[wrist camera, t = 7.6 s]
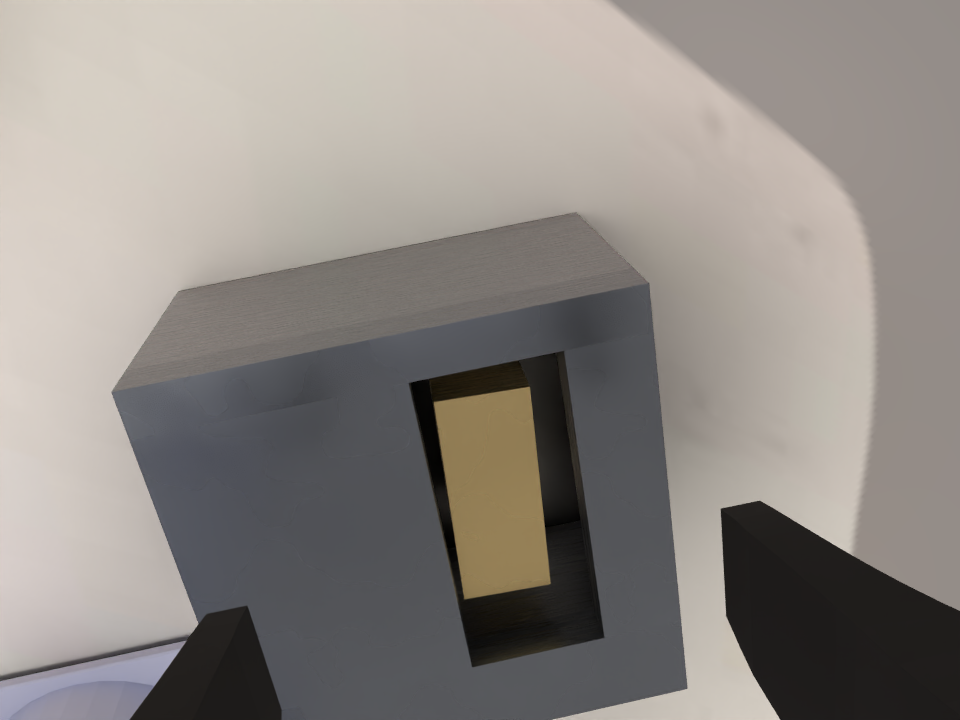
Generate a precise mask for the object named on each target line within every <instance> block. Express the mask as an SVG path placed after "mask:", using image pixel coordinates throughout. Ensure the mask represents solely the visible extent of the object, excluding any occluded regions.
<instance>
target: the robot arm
mask: <svg viewBox="0 0 960 720" xmlns="http://www.w3.org/2000/svg"><path fill="white" fill-rule="evenodd" d="M721 523H722V542H723V561H724V581H725V600H726V616H727V619H728V621H729V623H730V625H731V628H732V630H733V632H734V634H735V637H736V639H737V641H738V643H739V646H740V648H741V650H742V652H743V654H744V656H745V659H746V661H747V663H748V665H749V667H750V669H751V671H752V673H753V675H754V677H755V679H756V680H757V682H758V684H759V685H760V687H761V689H762V690H763V692H764V694H765V695H766V697H767V699H768V700H769V702H770V703H771V705H772V707H773V708H774V710H775V712H776V713H777V715H778V716H779V718H780V720H960V611H958V610H956V609H954V608H952V607H950V606H948V605H945V604H943V603H941V602H939V601H937V600H935V599H933V598H931V597H929V596H927V595H925V594H923V593H921V592H919V591H917V590H915V589H913V588H911V587H909V586H907V585H905V584H903V583H901V582H899V581H897V580H896V579H894V578H892V577H890V576H888V575H886V574H884V573H883V572H881V571H879V570H877V569H875V568H873V567H872V566H870V565H868V564H866V563H864V562H863V561H860V560H859V559H857V558H856V557H854V556H852V555H850V554H849V553H847V552H845V551H843V550H842V549H840V548H838V547H837V546H835V545H833V544H832V543H830V542H828V541H826V540H825V539H823V538H821V537H820V536H818V535H816V534H815V533H813V532H811V531H810V530H808V529H807V528H805V527H803V526H802V525H800V524H798V523H797V522H795V521H793V520H792V519H790V518H788V517H787V516H785V515H783V514H782V513H780V512H778V511H777V510H775V509H773V508H772V507H770V506H768V505H766V504H765V503H763V502H761V501H756V502H751V503H746V504H742V505H737V506H732V507H727V508H722V509H721ZM0 720H282V709H281V706H280V703H279V700H278V697H277V694H276V691H275V688H274V685H273V682H272V679H271V676H270V673H269V670H268V667H267V664H266V660H265V657H264V654H263V651H262V648H261V645H260V642H259V639H258V636H257V633H256V630H255V627H254V624H253V621H252V618H251V615H250V612H249V609H248V606H242V607H237V608H233V609H228V610H223V611H218V612H213V613H208V614H206V615H205V616H204V618H203V619H202V620H201V622H200V623H199V625H198V626H197V627H196V629H195V630H194V631H193V633H192V634H191V635H190V637H189V638H188V640H187V641H182V642H177V643H173V644H168V645H164V646H159V647H154V648H150V649H145V650H141V651H136V652H131V653H127V654H122V655H118V656H113V657H109V658H104V659H99V660H95V661H90V662H86V663H81V664H76V665H72V666H67V667H63V668H58V669H53V670H49V671H44V672H40V673H35V674H31V675H26V676H21V677H17V678H12V679H8V680H3V681H0Z"/></svg>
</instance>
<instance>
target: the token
mask: <svg viewBox="0 0 960 720" xmlns="http://www.w3.org/2000/svg"><path fill="white" fill-rule="evenodd" d="M429 383H430V390H431V396H432V403H433V409H434V415H435V422H436V428H437V435H438V441H439V448H440V454H441V460H442V467H443V473H444V480H445V486H446V492H447V498H448V504H449V510H450V516H451V522H452V528H453V534H454V540H455V546H456V552H457V558H458V564H459V570H460V576H461V582H462V588H463V594H464V599H470V598H475V597H481V596H487V595H492V594H498V593H504V592H509V591H515V590H521V589H526V588H532V587H538V586H543V585H549V584H551V582H550V572H549V563H548V553H547V544H546V534H545V525H544V516H543V506H542V497H541V487H540V478H539V468H538V459H537V449H536V440H535V430H534V421H533V411H532V402H531V392H530V386H529V384H528V381H527V379H526V377H525V374H524V372H523V370H522V367H521V365H520V363H519V361H518V360H517V361H512V362H507V363H502V364H497V365H492V366H488V367H483V368H478V369H473V370H468V371H463V372H459V373H454V374H449V375H444V376H439V377H434V378H429Z"/></svg>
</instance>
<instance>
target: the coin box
mask: <svg viewBox="0 0 960 720" xmlns="http://www.w3.org/2000/svg"><path fill="white" fill-rule="evenodd" d="M551 353H556V354H557V361H558V368H559V374H560V381H561V388H562V395H563V402H564V409H565V416H566V423H567V430H568V436H569V443H570V450H571V457H572V464H573V471H574V478H575V485H576V492H577V498H578V505H579V512H580V519H581V520H579V521H575V522H570V523H565V524H561V525H556V526H551V527H547V528H545V534H546V544H547V553H548V563H549V572H550V582H551V584H549V585H543V586H538V587H532V588H526V589H521V590H515V591H509V592H504V593H498V594H492V595H487V596H481V597H475V598H470V599H464V594H463V588H462V582H461V576H460V570H459V564H458V558H457V552H456V547H454V548H450V549H447V544H446V540H445V535H444V531H443V526H442V522H441V517H440V513H439V508H438V504H437V499H436V495H435V490H434V486H433V481H432V477H431V472H430V468H429V463H428V459H427V454H426V450H425V445H424V440H423V436H422V431H421V427H420V422H419V418H418V413H417V409H416V404H415V400H414V395H413V391H412V386H411V382H415V381H420V380H425V379H429V378H434V377H439V376H444V375H449V374H454V373H459V372H463V371H468V370H473V369H478V368H483V367H488V366H492V365H497V364H502V363H507V362H512V361H517V360H522V359H526V358H531V357H536V356H541V355H546V354H551ZM112 395H113V398H114V400H115V403H116V406H117V408H118V411H119V414H120V416H121V419H122V422H123V424H124V427H125V429H126V432H127V435H128V437H129V440H130V443H131V445H132V448H133V451H134V453H135V456H136V459H137V461H138V464H139V467H140V469H141V472H142V475H143V477H144V480H145V483H146V485H147V488H148V491H149V493H150V496H151V498H152V501H153V504H154V506H155V509H156V512H157V514H158V517H159V520H160V522H161V525H162V528H163V530H164V533H165V536H166V538H167V541H168V544H169V546H170V549H171V552H172V554H173V557H174V560H175V562H176V565H177V568H178V570H179V573H180V575H181V578H182V581H183V583H184V586H185V589H186V591H187V594H188V597H189V599H190V602H191V605H192V607H193V610H194V613H195V615H196V618H197V621H198V623H200V622H201V620H202V619H203V618H204V616H205V615H206V614H208V613H213V612H218V611H223V610H228V609H233V608H237V607H242V606H248V609H249V612H250V615H251V618H252V621H253V624H254V627H255V630H256V633H257V636H258V639H259V642H260V645H261V648H262V651H263V654H264V657H265V660H266V664H267V667H268V670H269V673H270V676H271V679H272V682H273V685H274V688H275V691H276V694H277V697H278V700H279V703H280V706H281V709H282V720H552V719H556V718H561V717H565V716H570V715H574V714H578V713H583V712H587V711H592V710H596V709H600V708H605V707H609V706H614V705H618V704H623V703H627V702H631V701H636V700H640V699H645V698H649V697H653V696H658V695H662V694H667V693H671V692H675V691H680V690H684V689H687V679H686V668H685V658H684V647H683V637H682V626H681V616H680V605H679V595H678V584H677V574H676V563H675V553H674V542H673V532H672V521H671V511H670V500H669V490H668V479H667V469H666V458H665V448H664V437H663V427H662V416H661V406H660V395H659V385H658V374H657V364H656V353H655V343H654V332H653V322H652V311H651V301H650V290H649V283H648V282H647V281H646V280H645V279H644V278H643V277H642V276H641V275H640V274H639V273H638V272H637V271H636V270H635V269H634V268H633V267H632V266H631V265H630V264H629V263H628V262H627V261H626V260H625V259H624V258H622V257H621V256H620V255H619V254H618V253H617V252H616V251H615V250H614V249H613V248H612V247H611V246H610V245H609V244H608V243H607V242H606V241H605V240H604V239H603V238H602V237H601V236H600V235H599V234H598V233H597V232H596V231H595V230H594V229H592V228H591V227H590V226H589V225H588V224H587V223H586V222H585V221H584V220H583V219H582V218H581V217H580V216H579V215H578V214H577V213H572V214H567V215H562V216H557V217H552V218H547V219H542V220H537V221H531V222H526V223H521V224H516V225H511V226H506V227H501V228H496V229H491V230H486V231H481V232H476V233H471V234H466V235H461V236H456V237H451V238H446V239H441V240H436V241H431V242H426V243H421V244H415V245H410V246H405V247H400V248H395V249H390V250H385V251H380V252H375V253H370V254H365V255H360V256H355V257H350V258H345V259H340V260H335V261H330V262H325V263H320V264H315V265H310V266H305V267H299V268H294V269H289V270H284V271H279V272H274V273H269V274H264V275H259V276H254V277H249V278H244V279H239V280H234V281H229V282H224V283H219V284H214V285H209V286H204V287H199V288H194V289H188V290H183V291H178V293H177V294H176V296H175V297H174V299H173V300H172V302H171V303H170V305H169V306H168V308H167V309H166V311H165V312H164V314H163V315H162V317H161V318H160V320H159V321H158V323H157V324H156V326H155V327H154V329H153V330H152V332H151V333H150V335H149V336H148V338H147V339H146V341H145V342H144V344H143V345H142V347H141V348H140V350H139V351H138V353H137V354H136V356H135V357H134V359H133V360H132V362H131V363H130V365H129V366H128V368H127V369H126V371H125V372H124V374H123V375H122V377H121V379H120V380H119V382H118V383H117V385H116V386H115V388H114V389H113V391H112Z"/></svg>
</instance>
